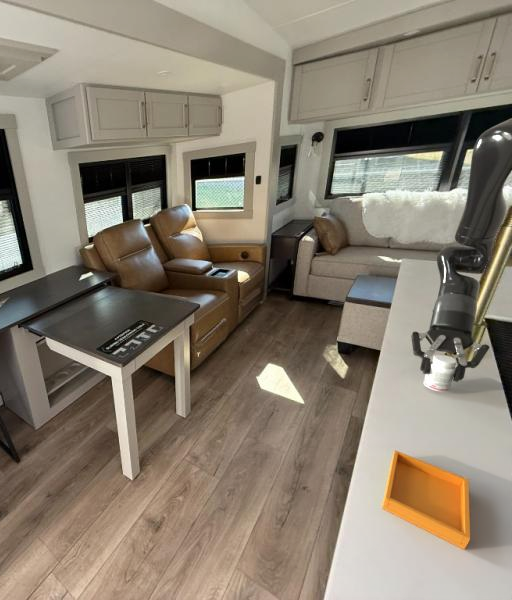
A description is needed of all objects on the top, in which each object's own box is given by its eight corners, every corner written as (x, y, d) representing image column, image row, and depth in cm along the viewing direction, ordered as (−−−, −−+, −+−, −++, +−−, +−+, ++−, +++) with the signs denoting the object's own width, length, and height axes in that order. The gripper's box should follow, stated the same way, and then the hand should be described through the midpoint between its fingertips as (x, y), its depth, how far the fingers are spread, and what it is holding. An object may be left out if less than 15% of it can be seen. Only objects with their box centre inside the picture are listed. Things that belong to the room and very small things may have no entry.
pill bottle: (454, 390, 79) (465, 362, 76) (437, 394, 78) (447, 365, 75) (433, 379, 83) (442, 352, 80) (417, 382, 83) (426, 355, 80)
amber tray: (463, 489, 58) (468, 479, 57) (464, 550, 50) (470, 539, 49) (391, 459, 65) (394, 449, 64) (381, 508, 57) (385, 497, 56)
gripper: (417, 304, 83) (403, 364, 80) (501, 315, 74) (488, 384, 71) (413, 314, 89) (400, 371, 86) (490, 326, 79) (478, 390, 76)
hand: (440, 376), depth 78 cm, fingers closed on pill bottle, 4 cm apart
